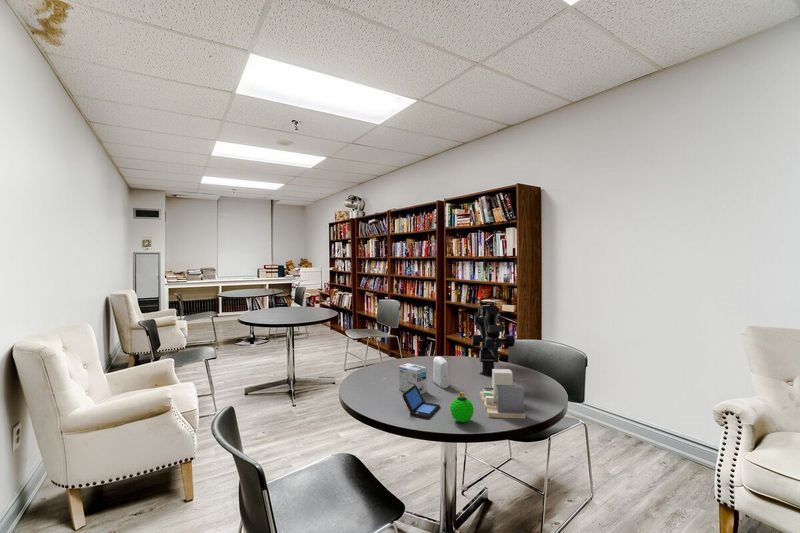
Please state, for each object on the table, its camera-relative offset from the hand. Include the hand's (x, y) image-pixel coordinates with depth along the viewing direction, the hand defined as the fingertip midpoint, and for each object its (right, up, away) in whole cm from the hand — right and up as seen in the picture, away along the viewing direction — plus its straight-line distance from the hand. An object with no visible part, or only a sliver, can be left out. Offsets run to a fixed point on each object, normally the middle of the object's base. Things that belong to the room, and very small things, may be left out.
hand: (495, 357), depth 157 cm
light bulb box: (-36, -14, -4) cm, 39 cm away
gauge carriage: (-3, -12, -16) cm, 20 cm away
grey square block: (-2, -12, -29) cm, 31 cm away
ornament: (-20, -14, -33) cm, 41 cm away
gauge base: (-3, -14, -20) cm, 24 cm away
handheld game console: (-34, -14, -24) cm, 44 cm away
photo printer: (-24, -14, +4) cm, 28 cm away
